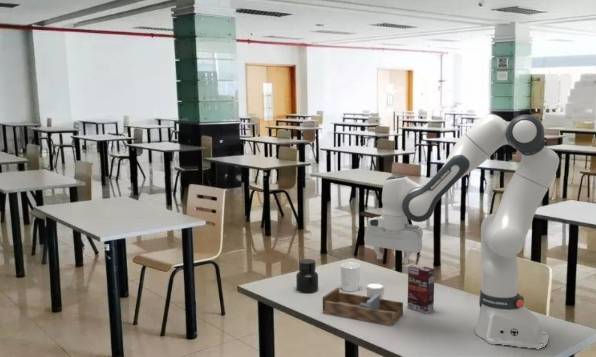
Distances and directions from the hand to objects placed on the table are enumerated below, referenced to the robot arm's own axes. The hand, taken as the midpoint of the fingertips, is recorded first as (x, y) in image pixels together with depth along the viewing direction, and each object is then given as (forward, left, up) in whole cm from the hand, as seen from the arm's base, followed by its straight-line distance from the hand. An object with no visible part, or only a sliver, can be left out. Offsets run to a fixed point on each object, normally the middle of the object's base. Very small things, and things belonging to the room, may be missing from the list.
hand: (392, 261), depth 203 cm
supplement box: (-6, -14, -21) cm, 26 cm away
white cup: (+26, -23, -21) cm, 40 cm away
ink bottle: (+41, -14, -21) cm, 48 cm away
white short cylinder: (+11, -12, -21) cm, 26 cm away
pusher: (+9, 0, -19) cm, 21 cm away
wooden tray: (+11, 0, -21) cm, 23 cm away
